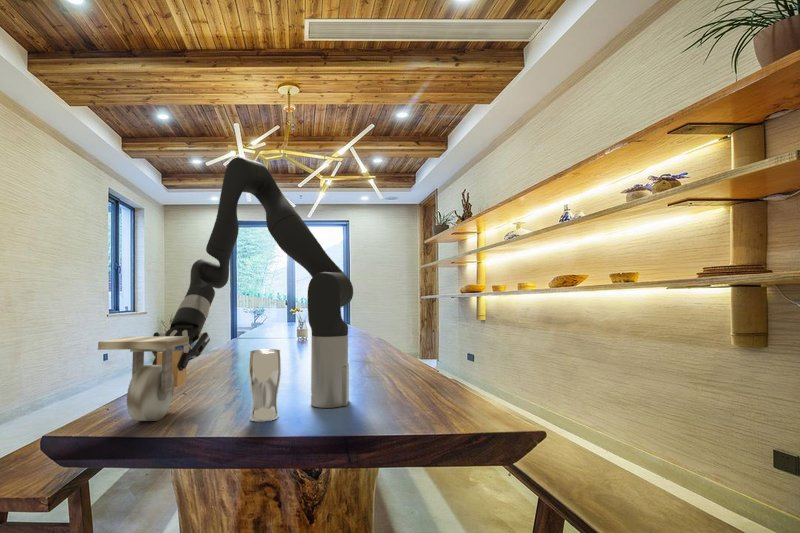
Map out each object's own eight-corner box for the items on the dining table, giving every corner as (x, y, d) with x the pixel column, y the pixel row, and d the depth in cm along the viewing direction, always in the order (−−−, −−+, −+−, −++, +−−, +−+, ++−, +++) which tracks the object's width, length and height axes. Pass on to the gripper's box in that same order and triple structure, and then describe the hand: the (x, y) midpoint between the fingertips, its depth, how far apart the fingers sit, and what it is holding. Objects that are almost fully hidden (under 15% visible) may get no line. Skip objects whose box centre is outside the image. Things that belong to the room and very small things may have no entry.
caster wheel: (194, 411, 103) (196, 334, 104) (164, 430, 89) (167, 341, 90) (134, 412, 103) (136, 334, 104) (95, 431, 89) (98, 341, 90)
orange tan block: (185, 382, 109) (186, 350, 109) (177, 386, 104) (178, 352, 105) (165, 382, 109) (166, 350, 109) (156, 386, 104) (156, 352, 105)
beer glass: (286, 418, 98) (287, 350, 99) (258, 425, 93) (259, 354, 94) (270, 412, 103) (270, 348, 104) (242, 418, 98) (243, 351, 99)
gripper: (159, 306, 115) (131, 359, 102) (214, 306, 115) (193, 359, 103) (169, 324, 120) (143, 378, 107) (222, 324, 120) (202, 377, 108)
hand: (168, 368), depth 105 cm, fingers closed on orange tan block, 5 cm apart
